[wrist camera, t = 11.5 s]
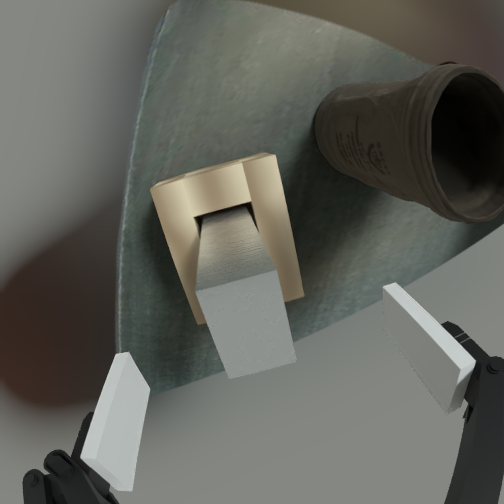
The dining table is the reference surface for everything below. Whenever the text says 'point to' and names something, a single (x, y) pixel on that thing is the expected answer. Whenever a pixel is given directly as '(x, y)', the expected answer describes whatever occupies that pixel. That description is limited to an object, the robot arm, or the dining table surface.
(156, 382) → the dining table surface
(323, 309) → the dining table surface
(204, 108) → the dining table surface
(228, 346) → the tall grey pillar
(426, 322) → the robot arm
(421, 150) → the beer stein
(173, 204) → the well block
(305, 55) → the dining table surface
